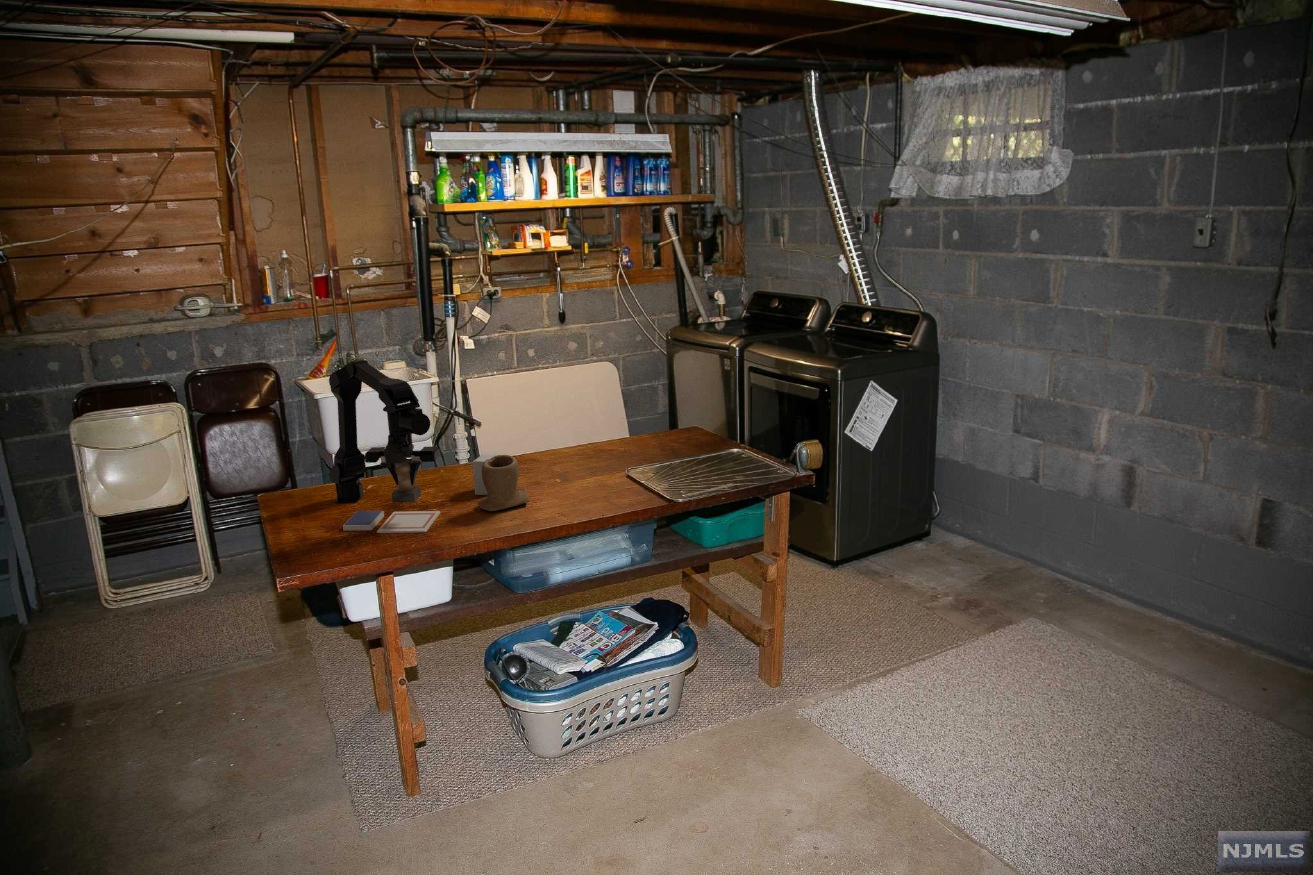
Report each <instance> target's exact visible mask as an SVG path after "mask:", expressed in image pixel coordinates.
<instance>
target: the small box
mask: <svg viewBox="0 0 1313 875" xmlns="http://www.w3.org/2000/svg"><path fill="white" fill-rule="evenodd" d="M497 455H498V454H495V453H494V454H491V453H490V454H489V453H488V454H487V453H482V454H481V455H480V456H478V457H477V458H475V459H474V460H473V461H472V470H473V471H472V473H473V484H474V494H475V495H477V496H480V495H481V496H488V494H487V490H486V488H485V486H484V483H483V480H482V465H483V463H484V462H485V461H486V460H487V459H490V458H492V457H494V456H497Z"/></svg>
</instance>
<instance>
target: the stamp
mask: <svg viewBox="0 0 1313 875" xmlns="http://www.w3.org/2000/svg"><path fill="white" fill-rule="evenodd" d="M411 461H412V460H410V459H409V458H405V461H404V462H403V463H401V464H398V463H395V469H396V471H397V475H398V485H397V487H396V489H395V490H393V492H392V493H391V500H392V503H395V504H397V503H415V502H416V501H418V499H419V498H420V497H421V495H422V494H421V486H420V485H411V467H410V465H409V463H410V462H411Z"/></svg>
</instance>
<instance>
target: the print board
mask: <svg viewBox="0 0 1313 875" xmlns="http://www.w3.org/2000/svg"><path fill="white" fill-rule="evenodd" d="M440 513H441V511H440V510H434V511H433V510H432V511H431V510H430V511H429V510H428V511H427V510H421V511H415V510H414V511H411V510H410V511H393V512H392V513H391V515H390V516H389V517H388V518H387V519H386V520H385V521H384V523H382V525H381V526H380V527H379V528H378V529H377V531H376V533H378V534H387V533H389V534H390V533H391V534H394V533H397V534H398V533H401V534H403V533H427V532H428V530H429V529H430V527H431V526H432V525H433V523H434V522H435V521H436V519H437V518H438V517H439V515H440Z"/></svg>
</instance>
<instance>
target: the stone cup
mask: <svg viewBox="0 0 1313 875" xmlns="http://www.w3.org/2000/svg"><path fill="white" fill-rule="evenodd" d="M496 455H497V456H494V457H492V458H490V459H487V460H486V461H485V462H484V463H483V465H482V480H483V483H484V486H485V488H486V490H487V494H488V495H487V496H485V497H482V498H480V499H479V500H477V505H478V507H480V509H483V510H485V511H488V512H495V511H500V510H505V509H508V508H511V507H512V508H513V507H516V506H520V505H523V504H527V503H529V502H530V500H531V499H530V497H529V495H528V493H527V489H526V488H525V487H521V488H517V486H518V482H519V473H520V467H519V463H518V460H517V459H516V458H515V457H514V456H512V455H509V454H496Z"/></svg>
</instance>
